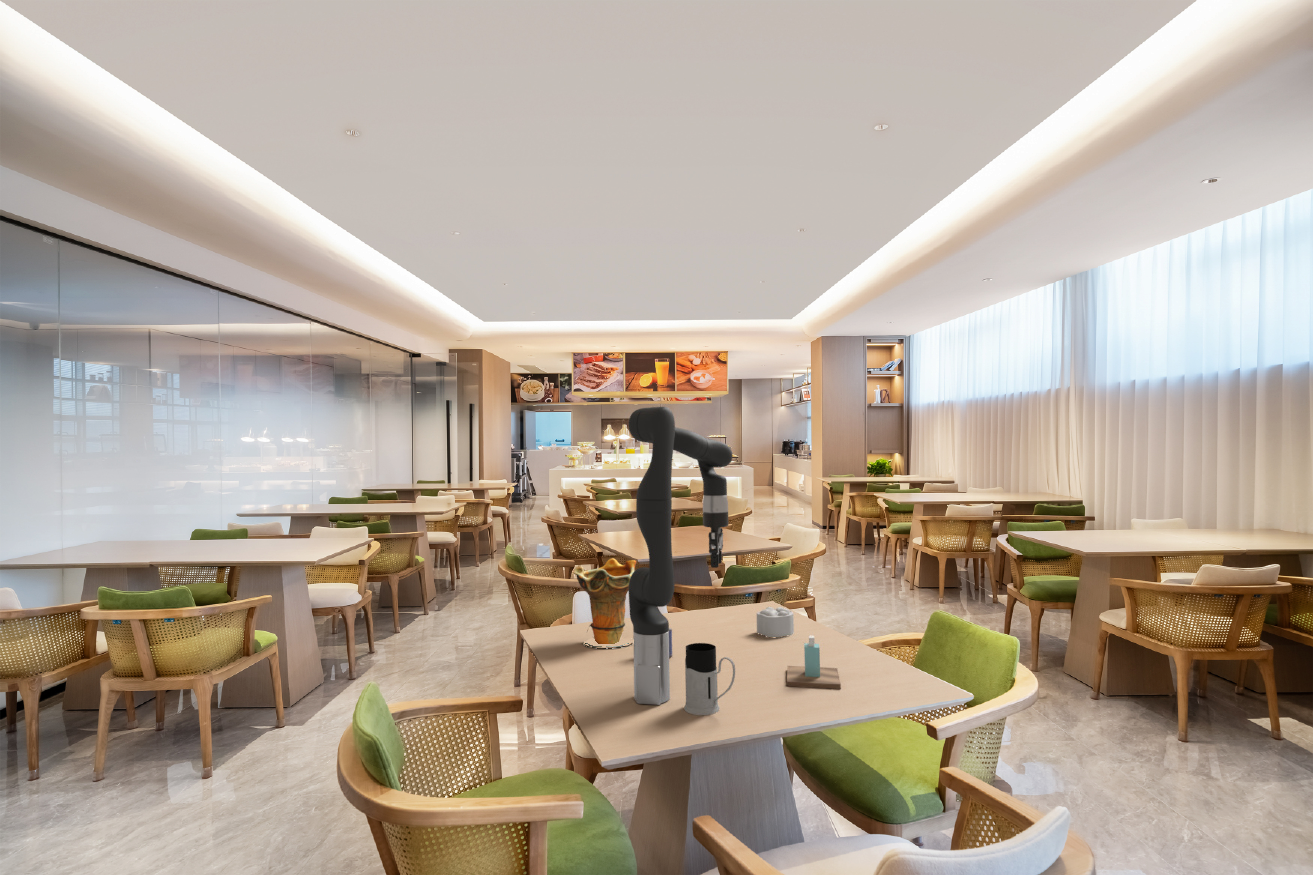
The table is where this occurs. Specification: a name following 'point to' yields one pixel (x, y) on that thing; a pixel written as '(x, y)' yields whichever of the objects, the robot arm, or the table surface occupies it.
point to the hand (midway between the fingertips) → (716, 565)
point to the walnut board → (813, 678)
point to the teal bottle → (812, 658)
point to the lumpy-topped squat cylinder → (775, 622)
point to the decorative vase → (607, 598)
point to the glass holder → (702, 679)
